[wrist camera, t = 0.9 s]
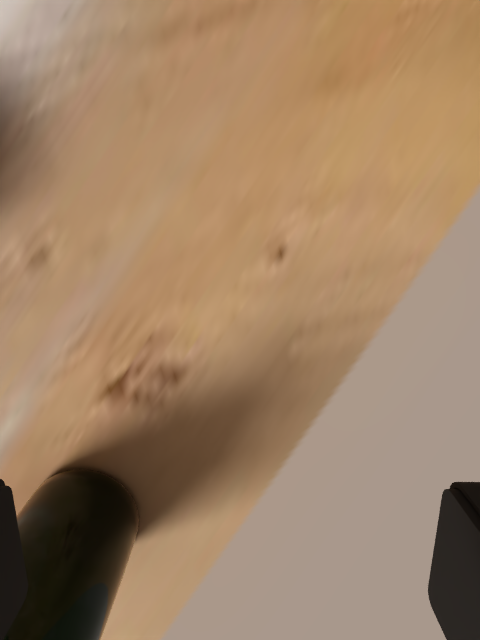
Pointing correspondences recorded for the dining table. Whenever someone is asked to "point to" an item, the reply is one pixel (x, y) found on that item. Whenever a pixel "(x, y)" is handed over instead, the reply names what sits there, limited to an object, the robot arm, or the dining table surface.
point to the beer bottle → (73, 555)
